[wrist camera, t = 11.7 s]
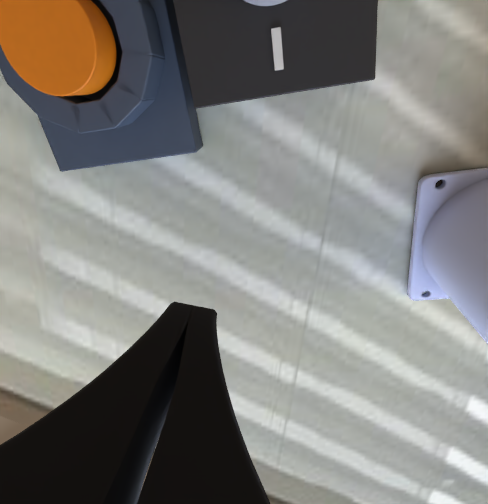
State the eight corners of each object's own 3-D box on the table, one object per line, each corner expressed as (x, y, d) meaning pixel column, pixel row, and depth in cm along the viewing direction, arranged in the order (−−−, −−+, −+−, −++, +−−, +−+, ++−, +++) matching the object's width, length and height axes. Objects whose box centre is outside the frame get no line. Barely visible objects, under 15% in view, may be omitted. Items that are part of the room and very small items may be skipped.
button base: (-11, -66, 14) (-91, -109, 11) (152, -109, 13) (115, -170, 10) (77, 164, 18) (37, 180, 15) (203, 146, 17) (188, 159, 14)
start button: (12, -2, 12) (-25, -14, 11) (98, -21, 12) (72, -37, 10) (51, 101, 14) (24, 103, 12) (128, 87, 13) (110, 87, 12)
